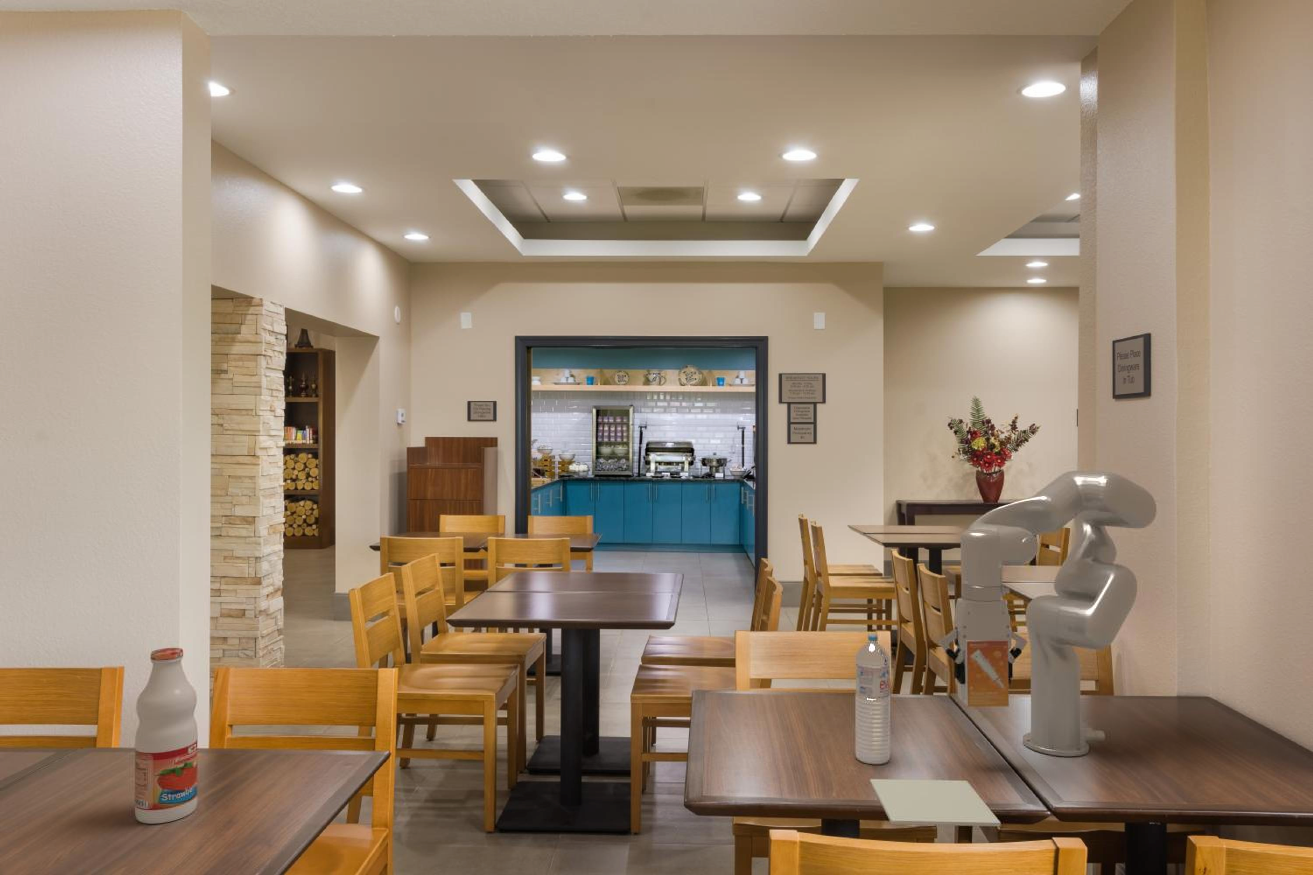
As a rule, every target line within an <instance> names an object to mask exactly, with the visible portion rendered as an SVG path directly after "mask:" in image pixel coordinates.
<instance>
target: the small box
mask: <svg viewBox="0 0 1313 875" xmlns="http://www.w3.org/2000/svg"><path fill="white" fill-rule="evenodd" d="M958 644H959V643H958ZM963 664H964V665H965V683H964V684H960V683H959V682H958V681H957V698H958V699H959V700H960V701H961V702H962V703H963V704H964V705H965V706H967V707H969V708H970V707H971V708H972V707H989V708H991V707H993V708H994V707H995V708H996V707H999V708H1001V707H1002V708H1003V707H1005V708H1008V707H1010V706H1009V705H1010V704H1009V702H1010V701H1009V694H1010V693H1009V690H1010V689H1009V684H1008V640H966V651H965V658H964V659H963Z"/></svg>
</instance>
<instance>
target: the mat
mask: <svg viewBox="0 0 1313 875" xmlns="http://www.w3.org/2000/svg"><path fill="white" fill-rule="evenodd" d="M870 783H871V784H870ZM869 784H870V785H871V787H872V790H873V791H874V794H875V795H876V797H877V799H878V801H879V802H880V804H881V806H882V808H883V810H884V812H885V814H886V816H887V817H888V820H889V822H890V823H891V825H902V826H903V825H909V826H912V825H913V826H917V825H918V826H921V825H922V826H962V827H966V826H968V827H1001V826H1002V825H1001V824H1002V823H1001V821H1000V820H999V819H998V817H997V816H996V815H995V814H994V813H993V811H991V809H990V807H988V805H987V804H986V803H985V801H984V800H983V799H982V798H981V797H980V795H979V794H978V793H977V792H976V790H975V789H974V788H973V786H971V784H970V783H969V782H968V780H952V779H951V780H950V779H949V780H948V779H946V780H939V779H937V780H935V779H893V778H892V779H890V778H889V779H886V778H885V779H883V778H879V779H877V778H870V779H869Z"/></svg>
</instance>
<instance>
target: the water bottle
mask: <svg viewBox="0 0 1313 875" xmlns="http://www.w3.org/2000/svg"><path fill="white" fill-rule="evenodd" d="M867 641H868V642H867V643H865V644H864V645H863V646H862V647H860V648H859V649H858V650H857V652H856V653H855V660H854V661H855V665H856V666H855V696H854V697H855V708H854V710H855V713H854V714H855V716H854V717H855V718H854V719H855V723H854V724H855V733H854V734H855V736H854V737H855V741H854V742H855V744H854V745H855V748H854V749H855V757H856V759H857V760H858V761H859V762H861V763H864V764H866V765H867V764H868V765H876V766H877V765H884V764H886V763H888V762H889V761H890V758H891V695H890V694H891V693H890V690H891V689H890V680H891V678H890V677H891V676H890V674H891V673H890V670H891V669H890V665H891V657H890V655H889V653H888V651H887V650H886V649H885V648H884V646H882V645H881V644H880V643H878V635H877V634H868V636H867Z"/></svg>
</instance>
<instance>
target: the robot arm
mask: <svg viewBox="0 0 1313 875" xmlns="http://www.w3.org/2000/svg"><path fill="white" fill-rule="evenodd" d="M1157 510H1158V509H1157V504H1156V500H1155V499H1154V497H1153V495H1152V494H1151V492H1149V491H1148V490H1147V489H1145V488H1144V487H1142V486H1141V485H1139V484H1137V483H1135V482H1133V481H1132V480H1129V478H1126V477H1125V476H1122V475H1120V474H1117V473H1116V472H1115V473H1114V472H1110V471H1095V470H1091V471H1090V470H1070V471H1066V472H1064V473H1062V474H1061V475H1060V476H1059V475H1058V477H1056V478H1055V479H1054V480H1053V481H1051V482H1050V483H1048V484H1047V485H1046V486H1044V487H1043V488H1042V489H1040V490H1039V491H1037V493H1035V494H1034V495H1033V496H1030V497H1028V498H1024V499H1020V500H1017V501H1014V502H1011V503H1009V504H1005V505H1002V506H999V507H997V508H994V509H991V510H989V511H987V512H986V513H985V514H982V516H980V517H978V519H976V520H975V521H974V522H972V523H971V525H969V527H968V528H967V530H965V531H963V532H962V534H961V535H960V573H961V574H960V576H961V577H960V578H961V580H960V581H961V583H960V585H961V586H960V587H961V588H960V589H961V597H959V598H957V600H956V605H955V609H954V617H953V629H952V630H951V631H950V632H948V633H947V634H946V635H944V636H943V637H941V638H939V640H938V644H939V645H940V647H941V648H942V650H943V651H944V652H945V654H946V655H947V656H948V657H949V658H950V659H951V660H952V661H953V675H954V676H953V677H954V678H955V680H956V681H957V683H958V682H959V683H960V684H964V683H965V665H964V664H963V659H964V658H965V651H966V640H1008V685H1009V684H1011V682H1012V680H1011V679H1013V675H1014V672H1013V670H1014V667H1013V665H1014V663H1015V661H1016V659H1017V658H1018V657H1019V656H1020V655H1021V654H1022V652H1023V650H1024V649H1025V648H1026V646H1027V644H1028V640H1029V647H1030V732H1028V733H1025V734H1024V735H1023V736H1022V743H1023V745H1025V747H1027V748H1029V749H1030V750H1033V751H1036V752H1038V753H1042V754H1046V755H1050V756H1058V757H1079V756H1084V755H1086V754H1087V753H1088V752H1089V743H1087V742H1090V740H1091V741H1093V740H1094V741H1105V740H1106V735H1105V732H1104V730H1093V729H1092V728H1093V727H1092V728H1091V727H1083V726H1081V662H1080V659H1079V657H1078V654H1077V652H1076V651H1075V648H1074V647H1077V648H1080V649H1085V650H1086V649H1087V650H1092V651H1102V650H1104V649H1107V648H1108V647H1110V646H1111V644H1112V643H1113V642H1114V640H1115V638H1116V637H1117V636H1118V633H1119V631H1120V630H1121V628H1122V626H1123V625H1124V623H1125V621H1126V619H1127V617H1128V615H1129V614H1130V612H1131V610H1132V608H1133V606H1134V604H1135V601H1136V600H1137V599H1136V598H1137V595H1138V581H1137V578H1136V575H1135V573H1134V572H1133V571H1132V570H1131V569H1130V568H1129V567H1127V566H1126V565H1122V564H1120V563H1115V561H1116V558H1117V547H1116V545H1115V543H1114V541H1113V539H1112V538H1111V535H1110V534H1109V533H1108V531H1107V529H1106V527H1113V528H1114V527H1115V528H1123V529H1124V528H1125V529H1136V530H1137V529H1138V530H1139V529H1144V528H1147V527H1149V526H1150V525H1151V524H1152V523H1154V520H1155V519H1156V517H1157ZM1072 520H1074V525H1075V526H1074V528H1075V532H1076V537H1075V538H1076V539H1075V543H1074V545H1072V546H1073V547H1072V548H1071V549H1070V552H1069V553H1068V554H1067V557H1066V558H1065V560H1064V561H1063V563H1062V565H1061V566H1060V568H1059V570H1058V571H1057V574H1056V576H1055V577H1054V578H1055V579H1054V582H1053V589H1054V591H1055V593H1056V594H1057V595H1052V594H1044V595H1039V596H1036V597H1034V598H1032V599H1031V601H1030V602H1029V603H1028V604H1027V606H1026V610H1025V625H1026V629H1027V634H1028V640H1027V639H1025V638H1024V637H1023V636H1020V635H1019V634H1017V633H1016V632H1014V631H1012V629H1011V620H1010V614H1009V610H1008V605H1007V601H1006V600H1005V599H1004V598H1005V597H1004V596H1005V595H1006V594H1007V595H1008V594H1010V593H1011V590H1010V587H1009V586H1005V585H1004V584H1003V566H1006V565H1007V566H1023V565H1026V564H1028V563H1030V562H1031V561H1033V560H1034V558H1035V557H1036V555H1037V553H1038V549H1039V544H1038V540H1037V537H1036V536H1040V535H1047V534H1051V533H1056V532H1058V531H1059V530H1062V529H1063V528H1064V527H1065V526H1066V525H1067V524H1068V523H1070V522H1071V521H1072ZM1012 640H1014V641H1015V643H1016V644H1015V646H1013V647H1012ZM952 642H953V644H954V646H956V649H955V651H954V650H953V649H952V648H951V647H950V643H952ZM958 643H959V644H958Z"/></svg>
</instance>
